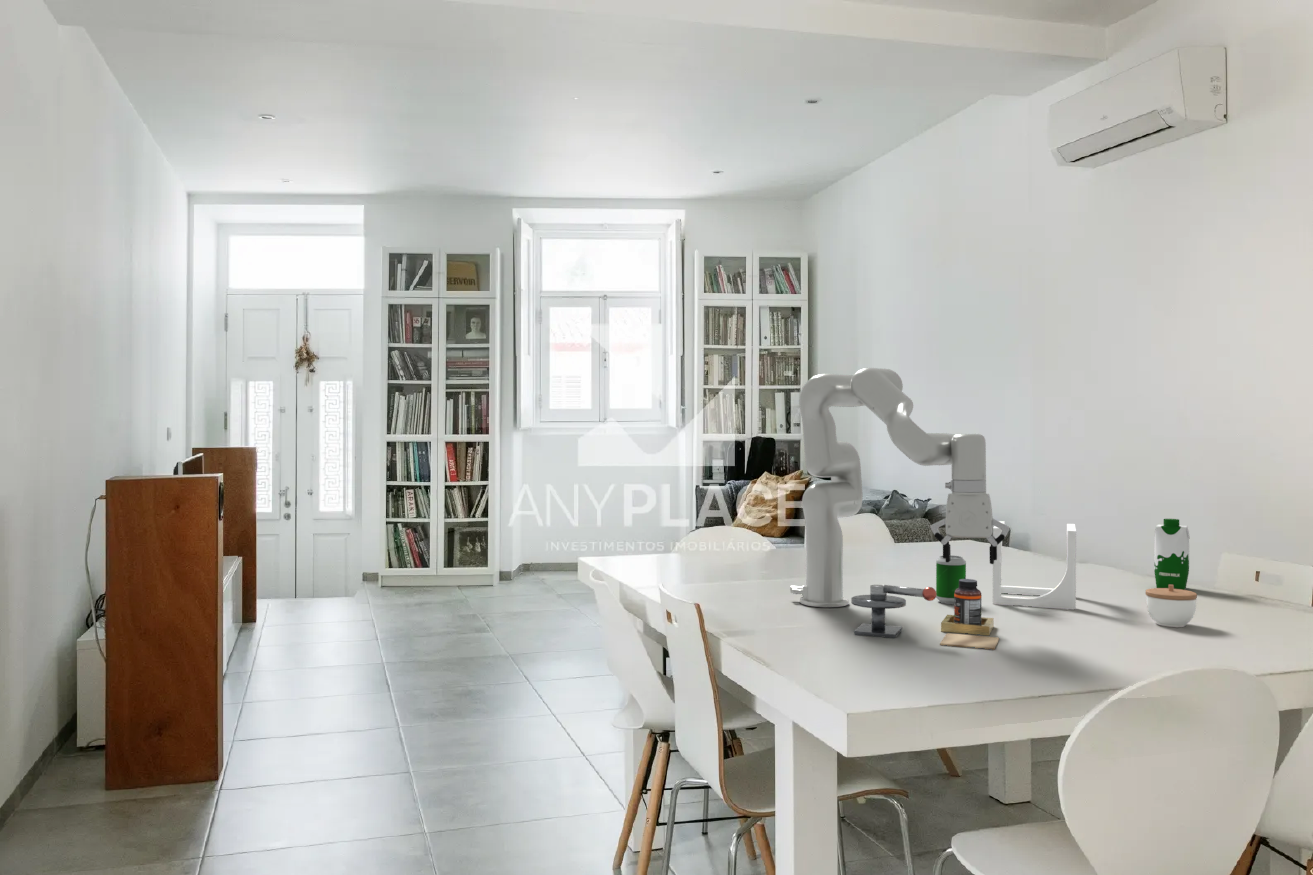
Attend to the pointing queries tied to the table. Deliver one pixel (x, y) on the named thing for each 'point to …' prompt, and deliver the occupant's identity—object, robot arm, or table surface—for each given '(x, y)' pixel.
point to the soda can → (949, 577)
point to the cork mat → (970, 641)
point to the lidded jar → (1171, 606)
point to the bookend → (1050, 597)
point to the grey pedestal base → (878, 626)
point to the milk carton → (1171, 554)
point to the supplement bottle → (967, 603)
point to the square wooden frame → (967, 626)
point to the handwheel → (884, 601)
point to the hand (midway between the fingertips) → (969, 562)
